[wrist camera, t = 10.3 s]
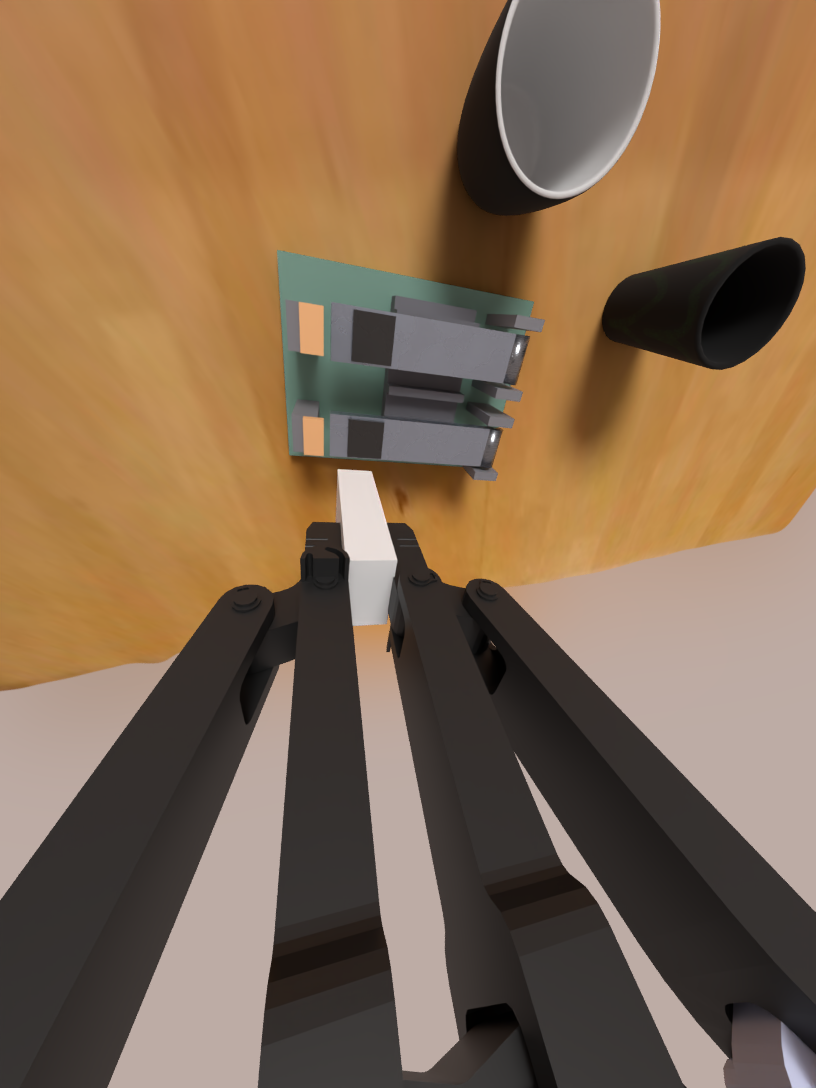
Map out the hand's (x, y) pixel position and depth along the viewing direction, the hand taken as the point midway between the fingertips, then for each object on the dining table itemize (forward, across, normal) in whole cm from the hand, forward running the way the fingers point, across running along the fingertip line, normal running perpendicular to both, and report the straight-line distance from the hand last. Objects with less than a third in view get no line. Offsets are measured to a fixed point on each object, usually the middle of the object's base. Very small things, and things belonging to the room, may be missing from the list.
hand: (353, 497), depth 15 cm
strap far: (+16, +7, -2) cm, 18 cm away
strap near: (+16, +7, +6) cm, 18 cm away
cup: (+22, +28, +11) cm, 37 cm away
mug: (+22, +11, +20) cm, 32 cm away
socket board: (+22, +6, +2) cm, 23 cm away
